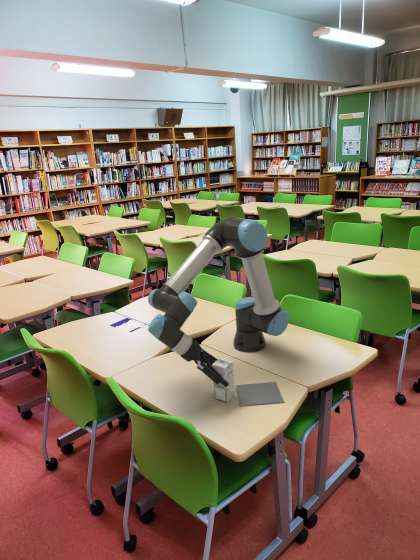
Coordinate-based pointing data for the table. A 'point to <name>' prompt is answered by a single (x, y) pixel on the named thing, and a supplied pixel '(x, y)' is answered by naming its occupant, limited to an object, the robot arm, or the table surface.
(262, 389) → the mat
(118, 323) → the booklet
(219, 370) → the syrup box
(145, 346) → the table surface
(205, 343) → the table surface
